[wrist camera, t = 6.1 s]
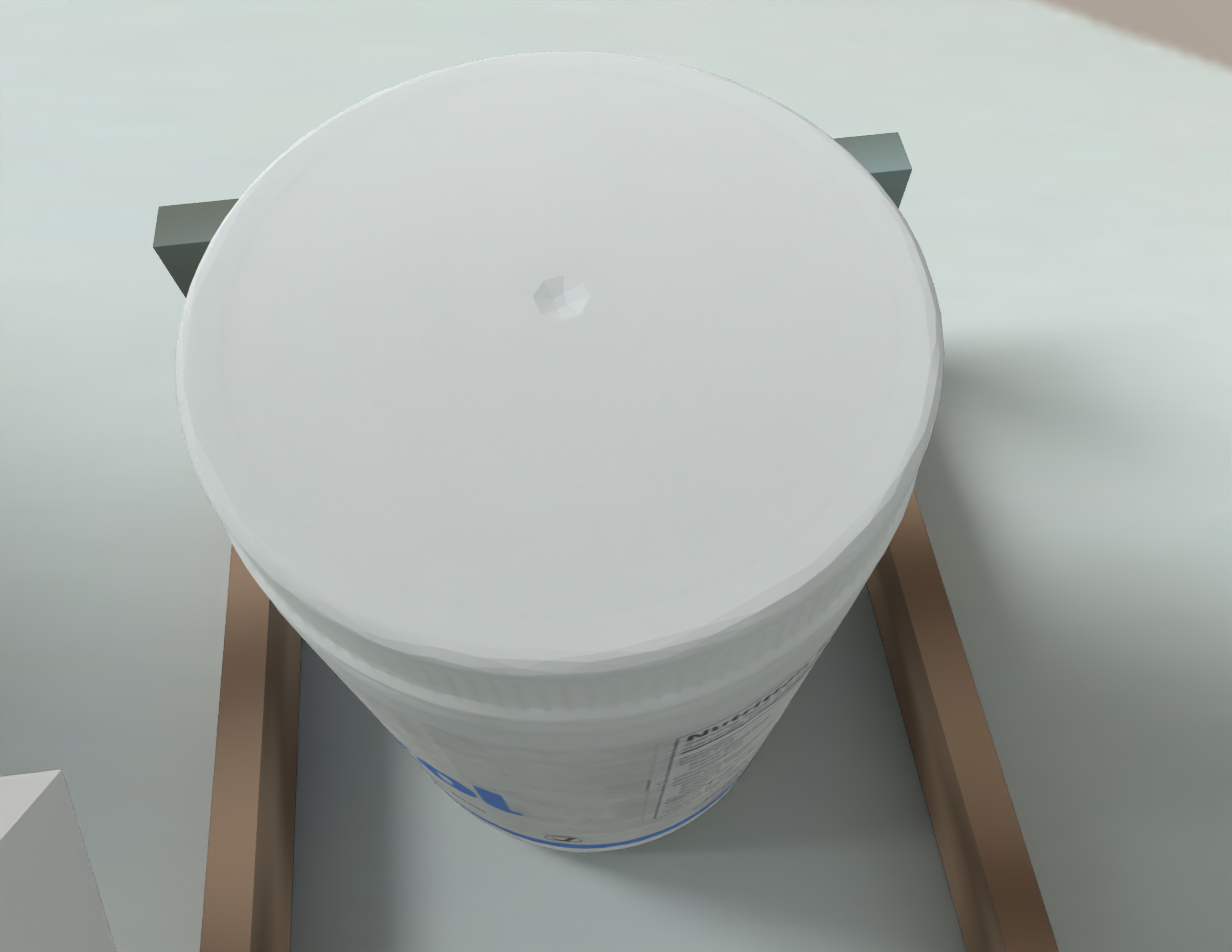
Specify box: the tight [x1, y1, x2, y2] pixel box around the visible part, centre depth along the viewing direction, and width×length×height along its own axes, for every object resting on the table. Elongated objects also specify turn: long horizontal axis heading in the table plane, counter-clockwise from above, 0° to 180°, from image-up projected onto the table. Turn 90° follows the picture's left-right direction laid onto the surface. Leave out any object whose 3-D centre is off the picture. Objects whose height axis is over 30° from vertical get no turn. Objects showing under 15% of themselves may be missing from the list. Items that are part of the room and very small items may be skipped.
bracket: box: [153, 132, 1059, 952], centre depth 21 cm, size 18×17×8 cm
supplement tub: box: [176, 51, 944, 852], centre depth 18 cm, size 10×10×15 cm
